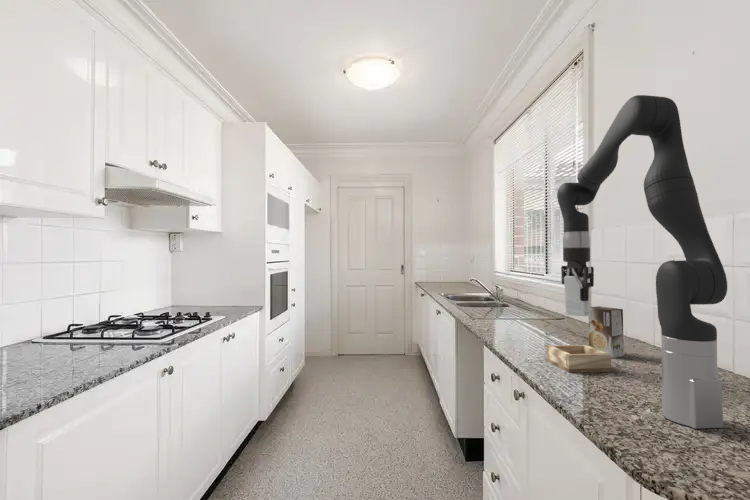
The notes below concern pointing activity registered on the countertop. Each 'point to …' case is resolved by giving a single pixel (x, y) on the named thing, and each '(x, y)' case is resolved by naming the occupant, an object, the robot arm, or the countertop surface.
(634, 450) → the countertop surface
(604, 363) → the light wooden tray
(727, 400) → the countertop surface
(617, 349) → the coffee box
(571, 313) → the skincare box
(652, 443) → the countertop surface
